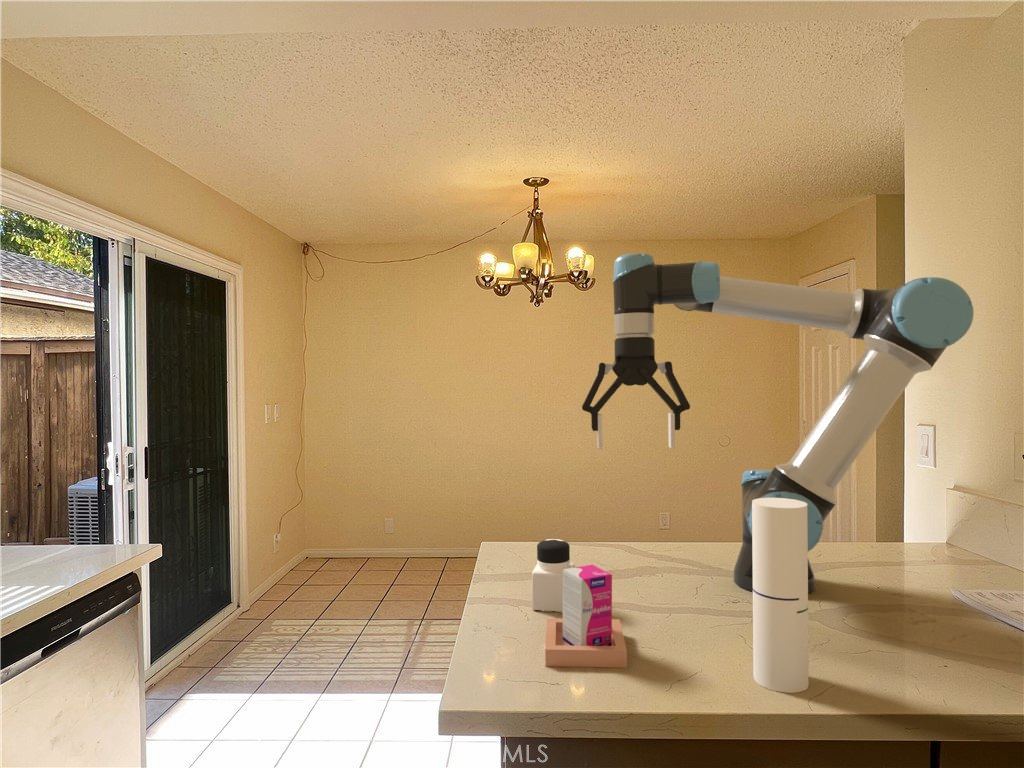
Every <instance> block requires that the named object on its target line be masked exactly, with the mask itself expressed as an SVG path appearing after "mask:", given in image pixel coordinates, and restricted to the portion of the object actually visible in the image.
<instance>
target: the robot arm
mask: <svg viewBox="0 0 1024 768" xmlns="http://www.w3.org/2000/svg"><path fill="white" fill-rule="evenodd" d="M613 267H614V268H613V280H612V283H613V311H614V312H613V315H614V319H613V321H614V324H613V325H614V335H615V336H617V338H615V339H614V362H613V363H604V362H600V363H598V367H597V374H596V377H595V378H594V381H593V383H592V385H591V386H590V389H589V391H588V394H587V395H586V397H585V399H584V401H583V403H582V405H581V409H582V411H584V412H587V413H589V414H590V417H591V421H590V422H591V423H590V424H591V425H590V426H591V430H592V432H596V433H597V435H596V436H597V448H598V450H599V449H600V450H603V415H602V413H599V412H600V411H601V410H602V408H603V407H604V406H605V404H606V403H607V402H608V401H609V400H610V399H611V397H612V396H614V394H615V393H616V392H617V390H618V389H619V388H620V387H621V386H622V385H624V386H628V387H630V386H645V385H647V384H648V385H649V387H651V388H652V390H654V392H655V393H656V394H657V395H658V397H659V398H660V399H661V400H662V401H663V402H664V403H665V404H666V405H667V407H668V408H669V409H670V410H671V411H672V412H668V413H667V416H668V417H667V420H668V421H667V423H668V427H667V429H668V433H667V434H668V448H670V449H676V431H679V430H680V429H681V414H682V412H685V411H689V410H690V408H691V405H690V403H689V401H688V399H687V397H686V395H685V393H684V391H683V389H682V388H681V385H680V384H679V382H678V380H677V378H676V376H675V374H674V372H673V370H674V369H673V363H672V362H671V361H669V360H668V361H664V362H659V363H657V362H656V359H655V357H656V352H655V351H656V350H655V338H653V337H652V335H654V334H655V306H656V305H661V306H662V305H674V306H675V307H676V308H677V309H679V310H681V311H686V312H692V311H697V312H704V313H714V314H719V315H727V316H734V317H742V318H747V319H753V320H754V319H755V320H762V321H768V322H773V323H783V324H788V325H797V326H804V327H810V328H817V329H825V330H830V331H837V332H843V333H844V334H845V335H846V337H847V338H848V339H857V340H862V341H864V343H865V350H864V351H863V353H862V354H861V356H860V357H859V359H858V360H857V362H856V363H855V365H854V366H853V368H852V369H851V370H850V372H849V373H848V375H847V376H846V377H845V380H844V381H843V383H842V384H841V385H840V387H839V388H838V390H837V391H836V392H835V393H834V396H833V397H832V398H831V400H830V401H829V403H828V404H827V406H826V407H825V409H824V410H823V412H822V413H821V414H820V416H819V417H818V419H817V420H816V421H815V423H814V425H813V426H812V428H811V429H810V430H809V432H808V433H807V435H806V436H805V438H804V440H803V441H802V442H801V443H800V446H799V447H798V449H797V450H796V451H795V453H794V454H793V456H792V457H791V459H790V460H789V461H787V462H786V463H785V462H784V463H780V464H776V465H775V466H774V467H773V468H772V470H770V469H769V470H768V469H763V470H762V469H747V470H745V471H744V472H742V478H741V483H740V486H741V492H742V493H741V496H742V497H741V499H742V500H741V501H742V502H741V504H742V505H741V506H742V521H741V522H742V524H741V525H742V543H741V544H742V545H741V547H740V549H739V554H738V556H737V559H736V562H735V565H734V567H733V582H734V584H736V585H737V586H738V587H740V588H741V589H745V590H747V591H750V592H753V560H752V500H754V499H758V498H787V499H794V500H799V501H803V502H805V503H807V524H808V552H810V551H811V550H813V549H814V548H815V547H816V546H817V545H818V544H819V541H820V540H821V538H822V534H823V531H824V522H825V520H827V517H828V516H829V514H830V513H831V512H832V511H833V509H834V508H835V506H836V504H837V499H836V493H835V489H836V487H837V486H838V485H839V483H840V482H841V481H842V479H843V478H844V476H845V475H846V473H847V472H848V471H849V469H850V468H851V466H852V465H853V463H854V462H855V461H856V459H857V458H858V457H859V455H860V453H862V451H863V449H864V448H865V446H867V443H868V442H869V441H870V439H871V438H872V436H873V435H874V433H875V432H876V431H877V429H878V428H879V427H880V425H881V424H882V422H883V421H884V420H885V418H886V416H887V415H888V413H889V412H890V411H891V409H892V408H893V406H894V405H895V403H896V402H897V401H898V399H899V398H900V397H901V395H902V394H903V392H904V391H905V389H906V388H907V386H908V385H909V384H910V382H911V381H912V380H913V378H914V377H915V375H916V374H919V373H922V372H923V373H924V372H927V371H931V370H932V369H933V367H934V366H935V364H936V363H937V362H938V360H939V359H940V357H941V356H942V354H943V353H944V352H945V350H946V348H947V347H950V346H952V345H954V344H956V343H957V342H959V341H960V340H961V339H962V338H963V337H965V335H966V334H967V333H968V331H969V329H970V328H971V326H972V323H973V321H974V314H975V312H974V305H973V302H972V300H971V297H970V296H969V294H968V293H967V291H966V290H965V289H964V288H963V287H962V286H960V284H957V283H956V282H954V281H952V280H950V279H947V278H944V277H939V276H938V277H935V276H934V277H931V276H930V277H925V276H924V277H918V278H915V279H912V280H910V281H907V282H906V283H905V284H903V285H900V286H897V287H893V288H887V289H886V288H883V289H872V288H871V289H870V288H860V287H859V288H858V289H856V290H854V291H852V292H849V291H842V290H833V289H826V288H818V287H817V288H816V287H811V286H808V287H807V286H801V285H793V284H785V283H777V282H769V281H761V280H755V279H754V280H753V279H746V278H739V277H737V278H736V277H730V276H729V277H728V276H723V275H721V270H720V265H719V263H718V262H715V261H702V260H701V261H700V260H699V261H697V262H696V261H695V262H694V261H693V262H682V263H669V264H658V263H655V261H654V257H653V255H651V254H649V253H626V254H622V255H620V256H618V257H617V258H616V259H615V260H614V265H613ZM657 370H660V372H661V374H664V376H665V378H666V380H667V382H668V383H669V386H670V388H671V389H672V391H673V393H674V395H675V397H676V399H677V401H678V403H679V404H677V403H676V402H675V400H673V398H672V397H671V396H670V395H669V394H668V393H667V392H666V391H665V389H664V388H663V386H661V385H660V384H659V383H658V381H657V380H656V379H655V378H654V377H653V376H654V375H655V373H656V372H657ZM610 371H613V373H614V374H615V375H616V378H615V380H614V381H613V382H612V383H611V385H610V386H609V387H608V389H607V390H606V391H605V392H604V393H603V395H602V396H601V397H600V398H599V399H598V400H597V402H596V403H595V404H594V405H593V406H592V403H593V401H594V399H595V397H596V394H597V392H598V391H599V388H600V386H601V385H602V382H603V380H604V377H605V375H608V374H609V373H610ZM815 582H816V580H815V574H814V572H813V568H812V565H811V563H810V560H809V558H808V594H810V593H812V592H814V590H815V588H816V583H815Z"/></svg>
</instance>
